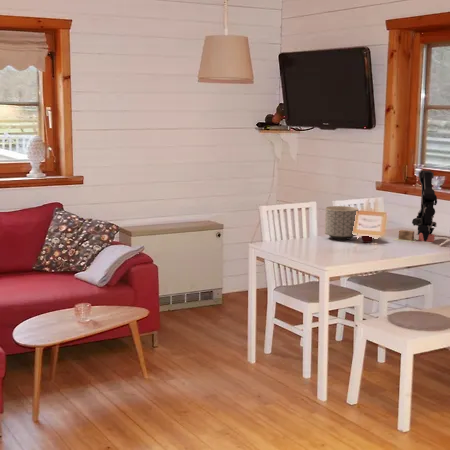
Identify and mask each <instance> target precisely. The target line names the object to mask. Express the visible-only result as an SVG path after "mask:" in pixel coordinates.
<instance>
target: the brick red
mask: <svg viewBox="0 0 450 450" xmlns="http://www.w3.org/2000/svg"><path fill="white" fill-rule="evenodd" d="M435 236H436V235H435V234H433V233H432V234H429V236H428V238H427V241H426V242H428V243H434V242H435ZM418 239H419V240H417V241H418V242H419V241H421V242H425V241H424V238H423V234H422V233H420V234H419V235H418Z"/></svg>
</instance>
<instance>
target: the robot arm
mask: <svg viewBox="0 0 450 450" xmlns="http://www.w3.org/2000/svg"><path fill="white" fill-rule="evenodd" d="M434 175H435V174H434V172H432V170H427V169H426V170H422V169H421V170H420V171H419V172H418V179H419V182H420V184H421V196H420V197H421V198H420V210H419V211H418V212H417V215H416V218H413V219H412V221H411V224H412V226H416V227H417V233H416V235H417V236H419V234H420V233H422V234H423V238H424V241H423V242H427V238H428V236H429V234H433V232H434V230H435V228H437V222H436V221H434V220H433V218H435V217H434V216H435V214H436V209H435V208H434V206H437V204H438V197H437V194H436V191H435V190H434V189H433V182H432V181H433V179H434Z"/></svg>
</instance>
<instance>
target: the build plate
mask: <svg viewBox="0 0 450 450" xmlns="http://www.w3.org/2000/svg"><path fill="white" fill-rule="evenodd" d="M398 238H399V236H398V237H396V238H394V239H393V241H399V242H407V243H415V242H416V241H418V240H419V238H414V240H412V241H409V240H400V239H398Z"/></svg>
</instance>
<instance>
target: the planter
mask: <svg viewBox="0 0 450 450" xmlns="http://www.w3.org/2000/svg"><path fill="white" fill-rule="evenodd" d="M356 211H358V212H359V208H358V207H354V206H345V205H336V206H335V205H334V206H333V205H332V206H327V207H325V218H324V219H325V220H324V234H325V235H327V236H329V237H330V238H331V239H333V240H337V241H338V240H339V241H346V240H350V239H352V238H353V237H355V236H357V235H353V234H352V231H353V226H354V221H355V215H356Z"/></svg>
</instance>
